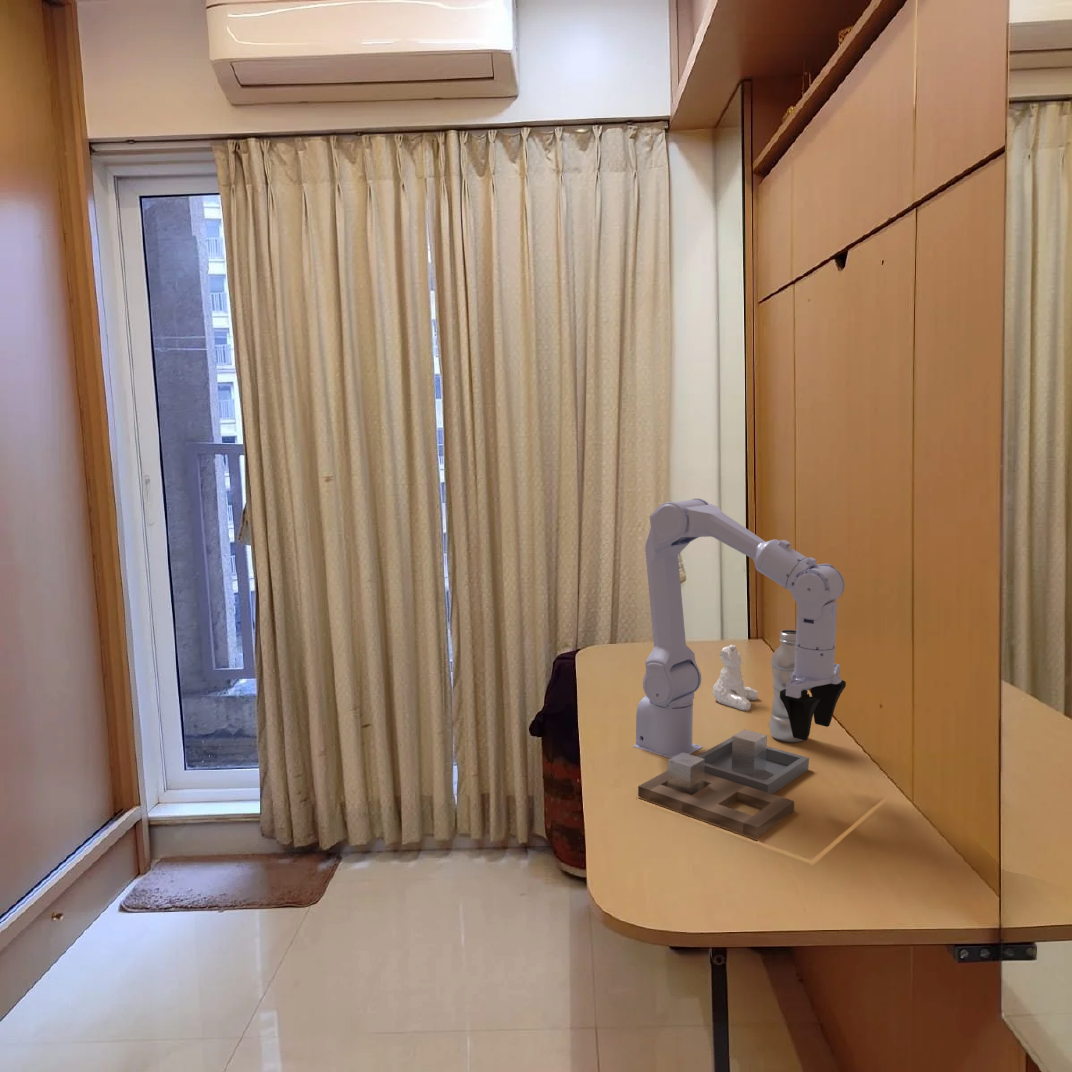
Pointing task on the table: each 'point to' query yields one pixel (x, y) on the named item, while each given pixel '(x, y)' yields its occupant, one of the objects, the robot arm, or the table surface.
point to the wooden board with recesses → (721, 803)
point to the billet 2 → (749, 753)
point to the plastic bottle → (782, 685)
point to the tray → (776, 776)
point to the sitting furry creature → (733, 682)
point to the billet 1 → (686, 773)
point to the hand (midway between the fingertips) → (811, 731)
